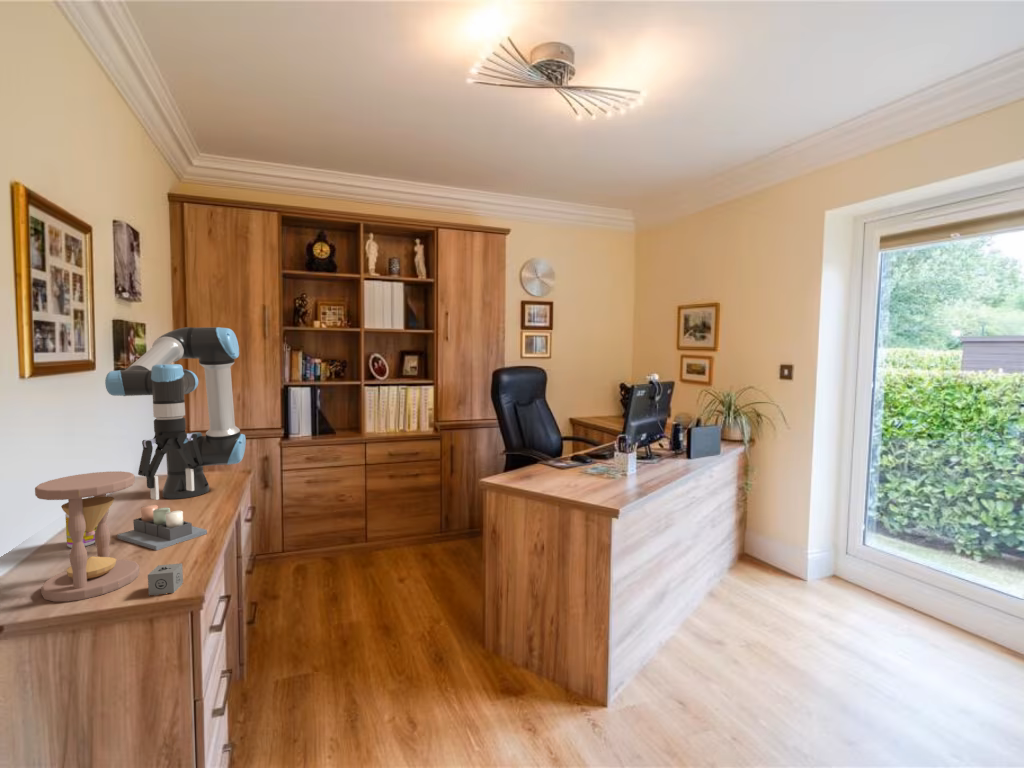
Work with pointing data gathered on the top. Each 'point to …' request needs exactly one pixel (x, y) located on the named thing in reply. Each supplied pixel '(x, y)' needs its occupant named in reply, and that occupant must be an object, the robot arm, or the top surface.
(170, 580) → the dice cube
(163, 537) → the panel
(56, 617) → the top surface
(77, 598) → the hourglass
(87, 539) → the supplement bottle
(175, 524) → the cream button
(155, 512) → the pale green rounded piece
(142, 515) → the pink rounded piece
